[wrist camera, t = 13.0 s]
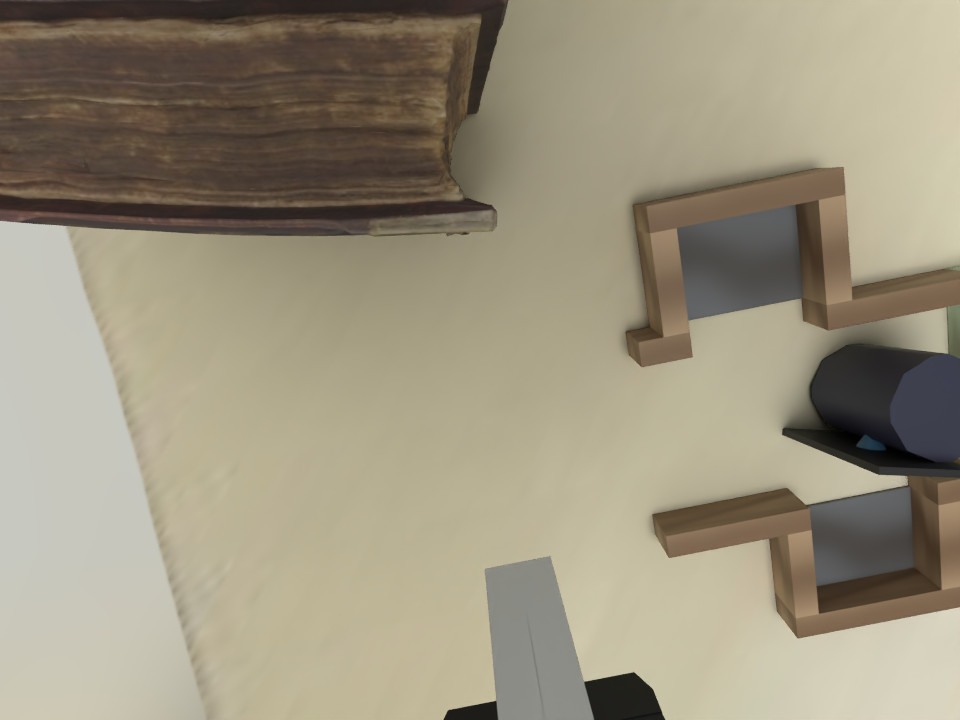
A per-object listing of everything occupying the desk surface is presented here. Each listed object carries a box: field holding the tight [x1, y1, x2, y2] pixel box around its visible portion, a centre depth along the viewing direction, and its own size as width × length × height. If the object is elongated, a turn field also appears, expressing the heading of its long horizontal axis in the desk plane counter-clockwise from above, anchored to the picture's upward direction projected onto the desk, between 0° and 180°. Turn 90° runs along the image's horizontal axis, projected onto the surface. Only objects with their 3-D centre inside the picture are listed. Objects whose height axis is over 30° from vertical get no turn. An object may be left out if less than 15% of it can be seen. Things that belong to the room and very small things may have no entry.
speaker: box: [782, 344, 960, 478], centre depth 41 cm, size 8×6×10 cm
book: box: [0, 0, 508, 236], centre depth 29 cm, size 17×7×25 cm, turn 84°
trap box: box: [626, 167, 960, 638], centre depth 44 cm, size 29×22×4 cm
